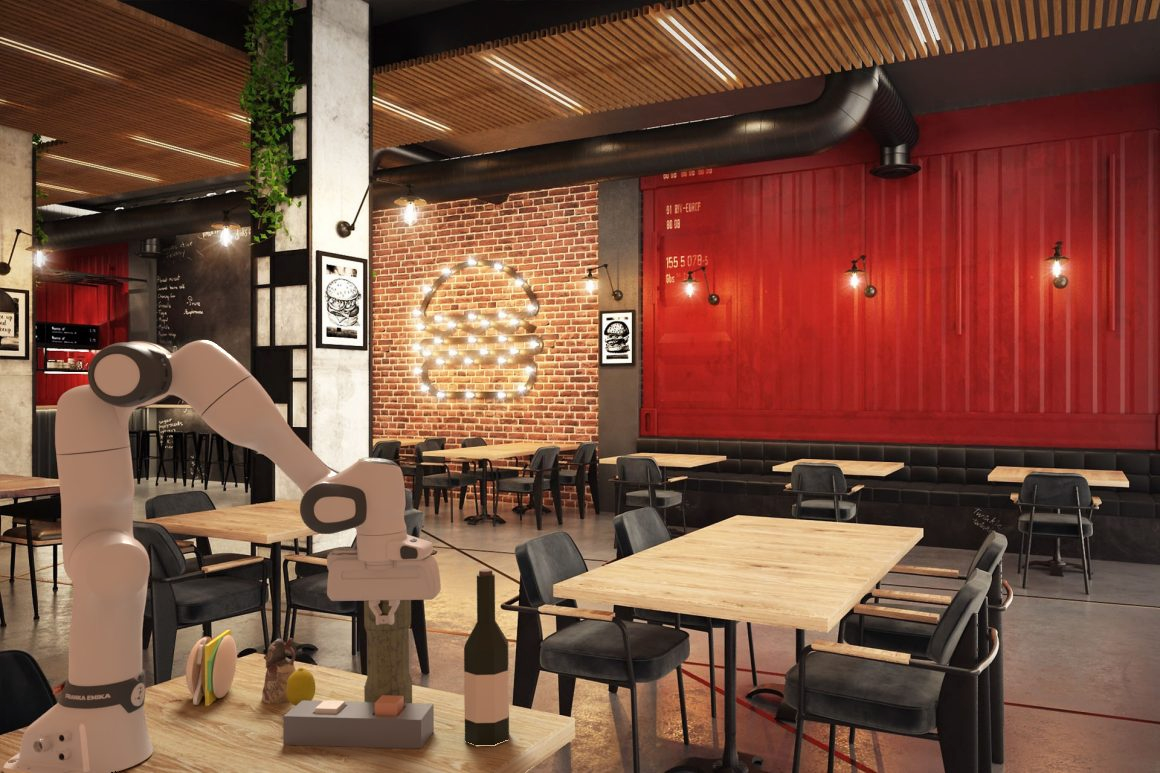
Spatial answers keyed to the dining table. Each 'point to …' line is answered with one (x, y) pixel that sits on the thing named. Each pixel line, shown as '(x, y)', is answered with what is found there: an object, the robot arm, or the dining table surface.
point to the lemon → (300, 686)
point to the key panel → (358, 726)
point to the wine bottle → (486, 671)
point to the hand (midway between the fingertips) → (385, 624)
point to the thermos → (388, 653)
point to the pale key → (330, 707)
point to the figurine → (278, 671)
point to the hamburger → (211, 667)
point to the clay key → (389, 705)
